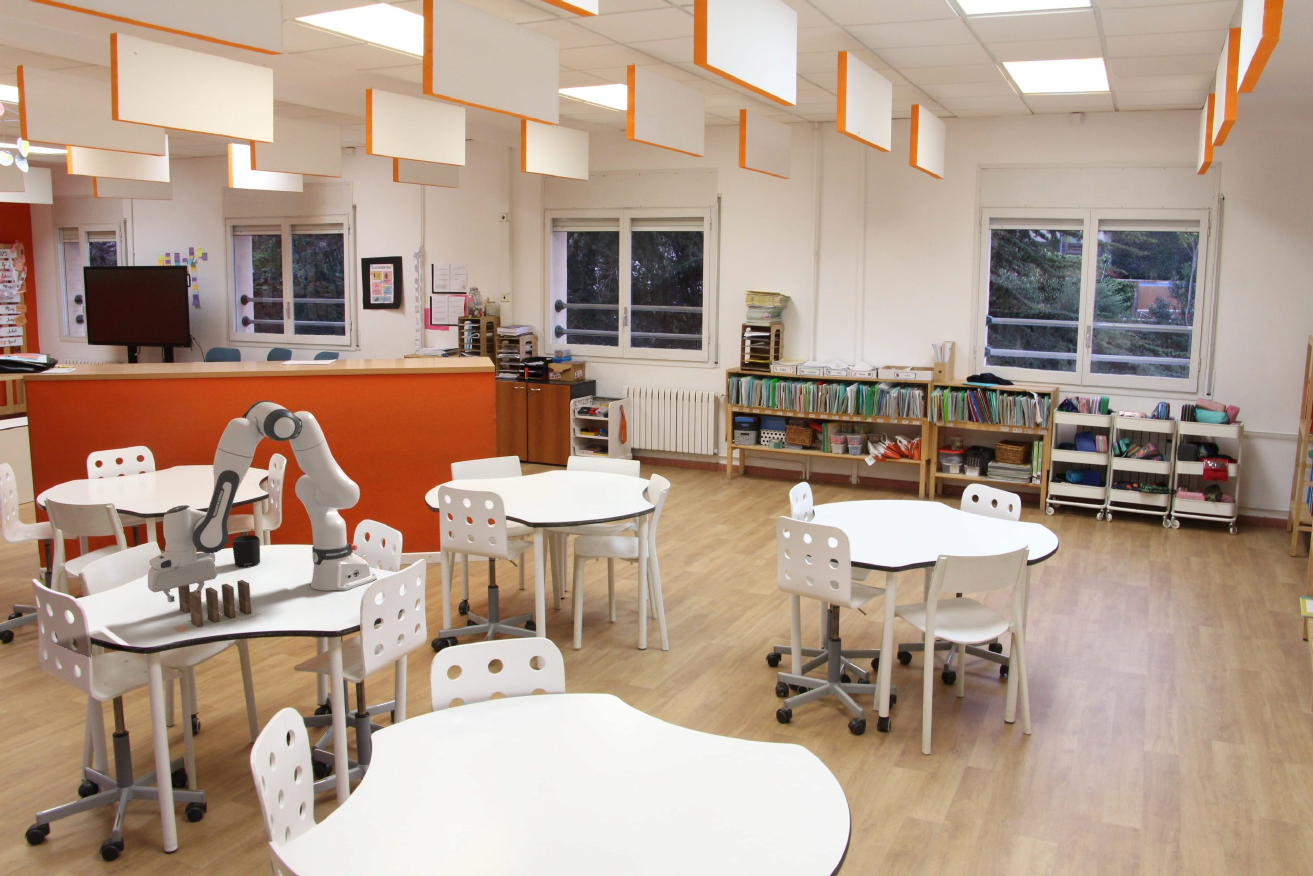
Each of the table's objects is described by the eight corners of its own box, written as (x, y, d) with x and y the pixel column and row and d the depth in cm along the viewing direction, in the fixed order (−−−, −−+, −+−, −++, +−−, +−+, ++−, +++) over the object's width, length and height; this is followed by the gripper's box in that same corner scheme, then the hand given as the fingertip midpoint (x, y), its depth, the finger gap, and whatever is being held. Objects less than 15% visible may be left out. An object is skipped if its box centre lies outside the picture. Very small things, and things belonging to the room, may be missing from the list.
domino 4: (244, 609, 311) (242, 579, 309) (251, 613, 307) (249, 583, 306) (239, 611, 309) (237, 581, 308) (246, 614, 306) (244, 584, 304)
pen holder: (228, 567, 357) (226, 541, 356) (244, 559, 366) (242, 534, 365) (250, 569, 355) (249, 542, 354) (266, 561, 364) (264, 536, 363)
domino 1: (196, 622, 300) (194, 591, 298) (203, 626, 296) (200, 594, 295) (191, 623, 299) (188, 592, 297) (198, 627, 295) (195, 596, 293)
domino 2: (212, 617, 303) (210, 587, 302) (219, 621, 300) (217, 591, 298) (207, 619, 302) (205, 588, 300) (214, 623, 299) (212, 592, 297)
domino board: (246, 609, 313) (246, 606, 313) (259, 616, 307) (259, 613, 307) (169, 629, 296) (169, 626, 296) (181, 637, 290) (181, 634, 290)
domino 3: (228, 613, 307) (226, 583, 305) (235, 617, 304) (233, 587, 302) (223, 615, 306) (221, 584, 304) (230, 619, 302) (228, 588, 301)
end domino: (185, 611, 312) (182, 581, 310) (191, 615, 308) (189, 585, 307) (180, 612, 311) (177, 582, 309) (186, 616, 307) (184, 586, 305)
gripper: (210, 548, 316) (213, 588, 318) (143, 561, 301) (147, 604, 303) (218, 551, 312) (221, 592, 314) (151, 565, 297) (155, 608, 299)
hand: (184, 598), depth 309 cm, fingers open, 7 cm apart
